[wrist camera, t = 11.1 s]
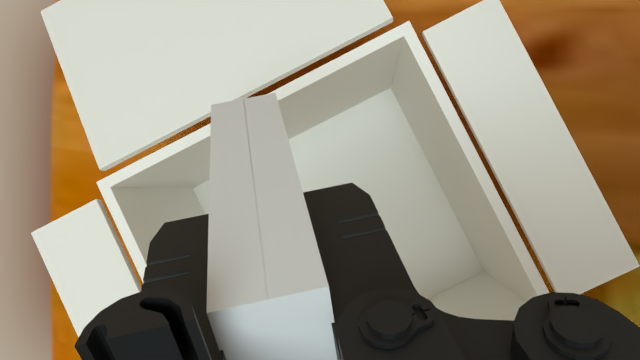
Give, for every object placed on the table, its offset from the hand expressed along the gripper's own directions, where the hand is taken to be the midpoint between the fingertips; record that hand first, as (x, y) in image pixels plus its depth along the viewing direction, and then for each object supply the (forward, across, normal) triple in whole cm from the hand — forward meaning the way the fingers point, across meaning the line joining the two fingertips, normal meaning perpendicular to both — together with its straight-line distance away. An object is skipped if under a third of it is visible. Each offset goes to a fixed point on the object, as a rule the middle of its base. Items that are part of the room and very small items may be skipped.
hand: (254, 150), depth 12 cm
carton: (+16, +4, -15) cm, 23 cm away
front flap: (+10, 0, -3) cm, 11 cm away
